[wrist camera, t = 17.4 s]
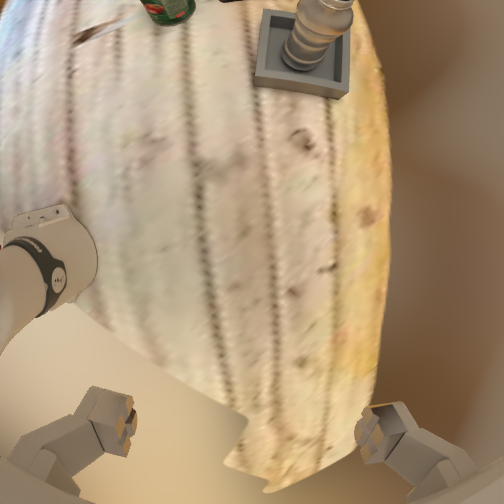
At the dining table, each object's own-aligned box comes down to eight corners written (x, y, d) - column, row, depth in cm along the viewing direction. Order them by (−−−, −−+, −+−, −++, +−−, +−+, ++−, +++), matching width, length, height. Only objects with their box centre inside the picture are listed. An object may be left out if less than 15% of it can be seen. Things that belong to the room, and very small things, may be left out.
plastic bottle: (271, 48, 36) (291, -25, 16) (307, 35, 35) (346, -35, 16) (292, 80, 37) (329, 19, 18) (328, 66, 37) (382, 8, 17)
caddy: (253, 86, 38) (255, 75, 34) (261, 23, 35) (263, 8, 30) (337, 99, 39) (348, 92, 34) (340, 37, 36) (350, 25, 31)
